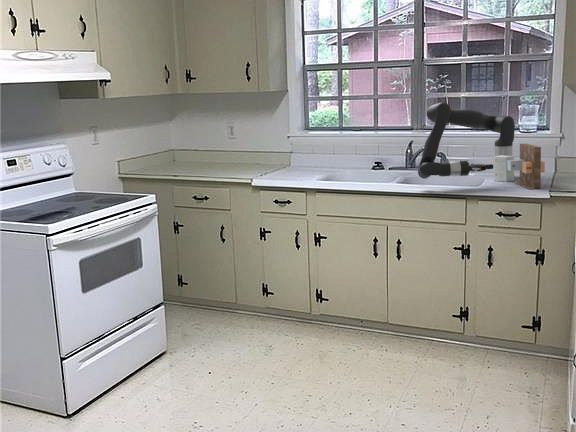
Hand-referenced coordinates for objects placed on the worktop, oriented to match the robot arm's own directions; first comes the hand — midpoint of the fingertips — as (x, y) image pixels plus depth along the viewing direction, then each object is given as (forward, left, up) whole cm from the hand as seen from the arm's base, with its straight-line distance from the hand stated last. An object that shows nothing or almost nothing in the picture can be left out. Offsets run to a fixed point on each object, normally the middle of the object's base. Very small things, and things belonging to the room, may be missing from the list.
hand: (492, 166), depth 330 cm
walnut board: (+5, +15, -10) cm, 19 cm away
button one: (0, +12, -3) cm, 13 cm away
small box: (-16, +10, -10) cm, 22 cm away
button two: (+11, +16, -3) cm, 20 cm away
